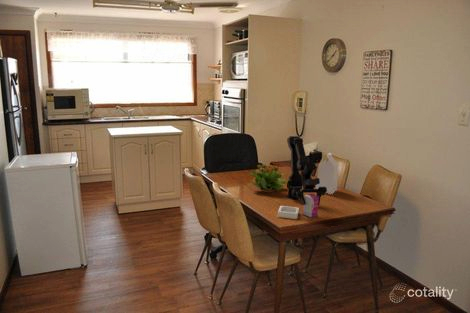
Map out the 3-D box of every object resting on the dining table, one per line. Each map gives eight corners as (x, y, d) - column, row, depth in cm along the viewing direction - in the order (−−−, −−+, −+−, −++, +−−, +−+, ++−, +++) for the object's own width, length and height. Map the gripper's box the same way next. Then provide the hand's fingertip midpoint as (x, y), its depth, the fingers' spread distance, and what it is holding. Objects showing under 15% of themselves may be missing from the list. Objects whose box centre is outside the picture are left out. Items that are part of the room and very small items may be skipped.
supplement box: (310, 218, 198) (311, 197, 196) (302, 214, 203) (303, 194, 200) (317, 216, 201) (319, 196, 199) (309, 213, 206) (311, 193, 204)
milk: (320, 187, 259) (323, 151, 254) (337, 190, 253) (340, 153, 248) (315, 191, 249) (318, 153, 244) (332, 194, 243) (335, 156, 238)
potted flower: (283, 197, 233) (284, 170, 229) (246, 194, 237) (247, 167, 234) (285, 187, 257) (287, 162, 253) (252, 184, 261) (253, 160, 258)
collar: (279, 210, 208) (280, 205, 208) (298, 212, 206) (298, 207, 205) (277, 216, 198) (277, 211, 198) (297, 219, 196) (297, 213, 195)
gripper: (294, 172, 200) (299, 198, 191) (327, 172, 202) (333, 197, 194) (289, 182, 209) (293, 207, 201) (321, 182, 212) (326, 207, 203)
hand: (311, 204), depth 199 cm, fingers closed on supplement box, 7 cm apart
